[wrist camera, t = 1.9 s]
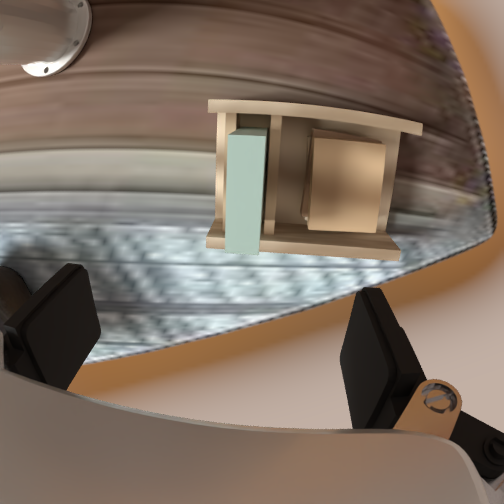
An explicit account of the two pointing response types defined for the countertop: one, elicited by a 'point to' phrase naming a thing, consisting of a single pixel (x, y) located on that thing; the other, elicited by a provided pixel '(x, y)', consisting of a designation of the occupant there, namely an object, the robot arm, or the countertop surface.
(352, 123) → the rack
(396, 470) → the robot arm
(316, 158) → the offcut
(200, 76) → the countertop surface
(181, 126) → the countertop surface
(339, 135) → the offcut
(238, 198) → the pale green slab
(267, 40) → the countertop surface
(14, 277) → the pitcher
